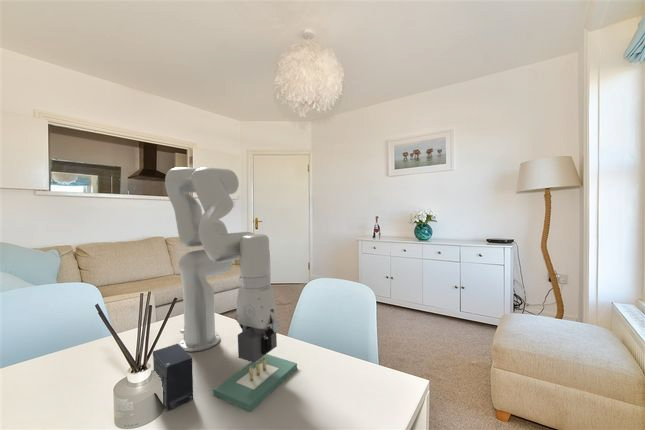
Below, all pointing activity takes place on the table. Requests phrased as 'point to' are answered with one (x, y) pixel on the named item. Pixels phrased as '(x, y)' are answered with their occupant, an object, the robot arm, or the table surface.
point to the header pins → (257, 368)
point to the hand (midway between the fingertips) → (258, 348)
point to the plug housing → (253, 344)
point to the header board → (255, 382)
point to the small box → (174, 375)
